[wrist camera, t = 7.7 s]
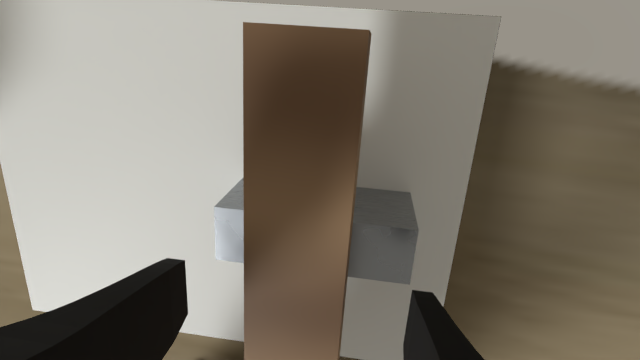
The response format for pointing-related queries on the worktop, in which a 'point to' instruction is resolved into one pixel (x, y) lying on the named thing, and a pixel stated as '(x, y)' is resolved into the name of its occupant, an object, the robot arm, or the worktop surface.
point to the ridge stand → (225, 151)
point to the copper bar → (299, 184)
